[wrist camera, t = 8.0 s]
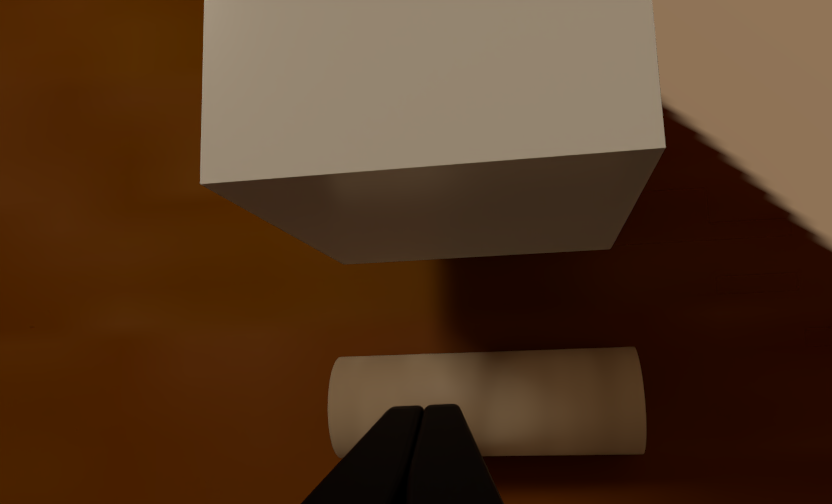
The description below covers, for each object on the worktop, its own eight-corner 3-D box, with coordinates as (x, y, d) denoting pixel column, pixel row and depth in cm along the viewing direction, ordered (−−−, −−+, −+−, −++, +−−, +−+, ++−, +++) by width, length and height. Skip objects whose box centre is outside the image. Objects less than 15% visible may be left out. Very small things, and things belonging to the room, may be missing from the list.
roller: (644, 476, 13) (629, 398, 15) (648, 401, 12) (631, 325, 14) (342, 479, 14) (359, 405, 16) (321, 408, 13) (341, 336, 15)
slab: (610, 249, 13) (665, 147, 7) (343, 264, 14) (199, 184, 8) (587, -53, 14) (618, -353, 8) (340, -22, 15) (210, -277, 9)
